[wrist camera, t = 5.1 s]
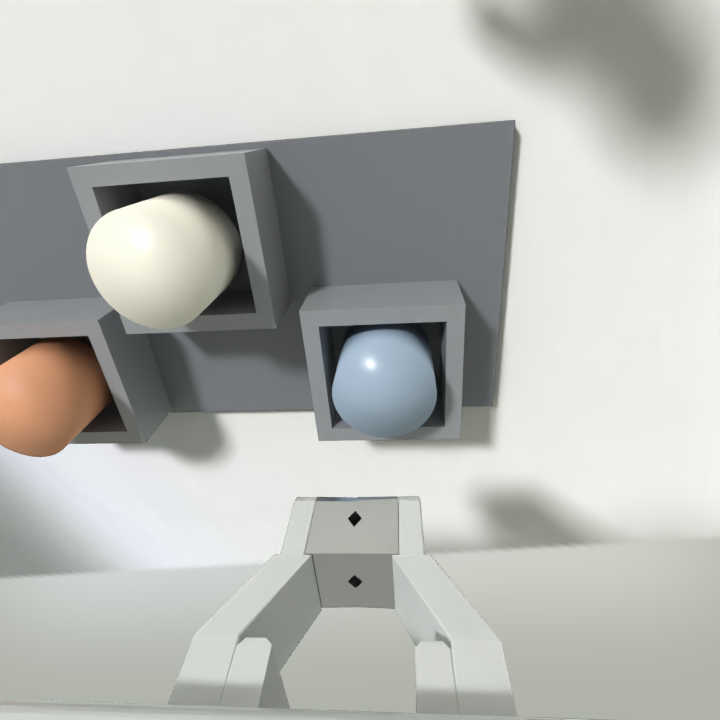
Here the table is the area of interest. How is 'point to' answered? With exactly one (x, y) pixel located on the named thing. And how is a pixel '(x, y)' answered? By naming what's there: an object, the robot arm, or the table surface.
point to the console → (275, 270)
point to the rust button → (50, 395)
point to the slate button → (385, 379)
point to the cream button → (164, 258)
